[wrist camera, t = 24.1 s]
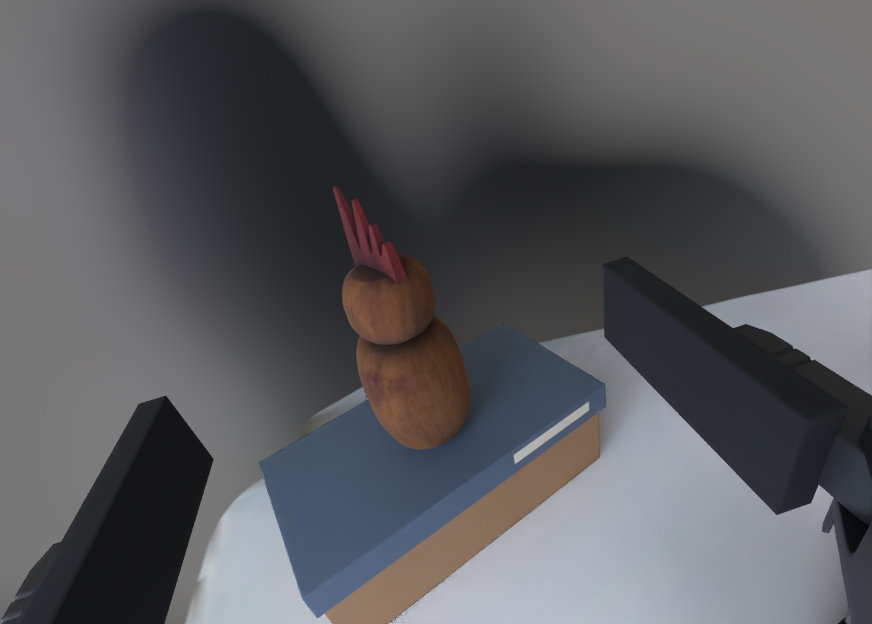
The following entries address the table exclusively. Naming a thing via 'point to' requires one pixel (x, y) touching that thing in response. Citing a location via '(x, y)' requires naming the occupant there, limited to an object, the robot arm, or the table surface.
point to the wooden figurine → (401, 340)
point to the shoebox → (430, 481)
